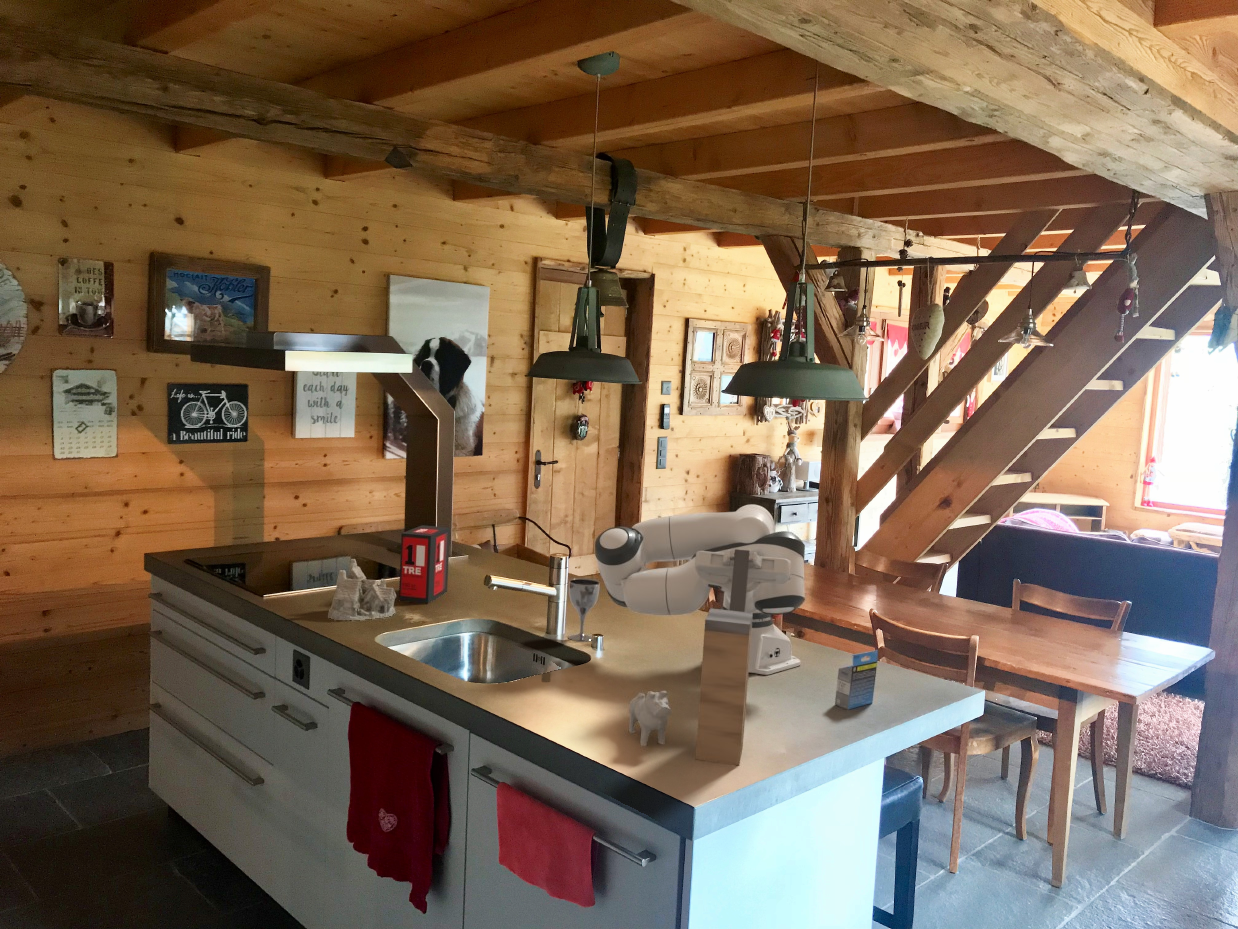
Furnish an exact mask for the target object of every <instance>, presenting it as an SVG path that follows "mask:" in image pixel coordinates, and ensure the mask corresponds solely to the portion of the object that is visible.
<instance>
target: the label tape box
mask: <svg viewBox="0 0 1238 929" xmlns="http://www.w3.org/2000/svg"><path fill="white" fill-rule="evenodd" d="M878 650H879V649H876V650H872V651H867V652H860V653H854V654H852V660H851V661H852V665H849V666H842V667H839V668H838V672H837V681H836V682H837V683H836V688H835V691H836V692H835V699H834V700H835V701H834V705H836V706H837V707H840V708H842V709H845V710H847V711H849V710H852V709H856V708H858V707H862V706H867V705H869V704H870V705H871V704H873V701H874V692H875V685H876V677H877V667H878V654H879V653H878V652H879V651H878ZM864 658H869V659H867V660H862V659H864Z"/></svg>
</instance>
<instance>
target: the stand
mask: <svg viewBox="0 0 1238 929" xmlns="http://www.w3.org/2000/svg"><path fill="white" fill-rule="evenodd" d="M752 618H753V613H749V612H740V611H730V610H721V608H720V609H718V608H712V607H711V608H710V609H709V611H708V612H707V615H706V616H705V619H704V632H703V648H702V660H701V675H700V689H699V690H700V691H699V704H698V715H697V716H698V718H697V728H696V729H697V731H696V732H697V734H696V743H695V744H696V747H695V759H694V760H695V761H696V760H697V761H698V760H699V761H705V762H710V763H711V762H712V763H720V764H727V765H734V766H740V765H741V760H742V753H743V748H744V747H743V746H744V739H745V738H744V737H745V736H744V735H745V725H746V724H745V722H746V711H747V710H746V709H747V696H748V685H749V684H748V683H749V673H750V672H749V658H750V645H751V632H752Z"/></svg>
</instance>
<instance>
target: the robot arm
mask: <svg viewBox="0 0 1238 929" xmlns="http://www.w3.org/2000/svg"><path fill="white" fill-rule="evenodd" d="M735 549H738V550H749V551H750V552H749V570H748V582H747V593H746V604H745V612H749V613H753V618H752V632H751V645H750V658H749V672H748V673H751V674H759V675H765V676H767V675H771V674H775V673H778V672H781V671H786V670H788V669H792V668H795V667H799V666H801V662H802V661H801V659H799V658H797V657H796V656H794V655H792V654H793V652H792V650H793V648H792V642H791V639H790V638H789V637H788V636H787V635H786V634H785V633H784V632H782V630H780V629H779V628H778V627H777V626H776V625H775V624H774V620H773V619H776V620H780V619H781V618H782V615H787V614H791V613H793V612H794V611H796V610H798V608H800V607H801V606H802V605H803V604H804V602H805V601H806V596H805V595H806V592H805V591H806V589H805V588H806V587H805V563H804V562H805V555H806V554H805V553H806V552H805V551H806V550H805V549H806V546H805V543H804V542H803V541H802V540H801V538H799V537H798V536H797V535H796V534H794V532H792V531H789V530H788V531H786V530H785V531H783V530H781V531H775V521H774V517H773V516H772V514H771V513H770V511H768V510H767V509H766V507H763V506H762V505H758V504H746V505H743V506H741V507H739V508H737V510H736V511H726V512H694V513H685V514H678V515H677V514H676V515H668V516H661V517H660V516H659V517H656V518H651V519H648V520H647V519H646V520H644V521H640V522H637V523H636V524H634V525H632V526H631V527H630V526H615V527H610V528H607V529H605V530H604V531H601V533H600V534H598V535H597V537H596V538H595V542H594V555H595V558H596V562H597V568H598V572H599V574H600V577H601V579H602V580H603V583H604V585H605V587H606V592H607V594H608V596H609V597H610V599H611V601H612V602H613V603H614V604H615V605H617V606H620V607H623V608H628V609H629V610H630V611H632V612H633V613H637V614H642V615H643V614H644V615H652V616H684V615H690V614H693V613H695V612H696V611H698V610H699V609H700V608H701V607H702V606H703V605H704V604H705V602H707V600H708V598H709V596H710V593H711V590H712V589H716V590H719V591H722V592H723V604H722V605H721V608H720V609H721V610H730V600H731V589H732V578H733V567H734V557H735ZM683 560H688V561H687V562H685V563H683V564H681V565H678V566H674V567H662V568H661V567H660V568H654V569H653V568H652V569H650V568H647V566H648V565H649V564H651V563H654V562H673V561H675V562H676V561H683Z"/></svg>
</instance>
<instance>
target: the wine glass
mask: <svg viewBox="0 0 1238 929" xmlns="http://www.w3.org/2000/svg"><path fill="white" fill-rule="evenodd" d="M568 582H569V583H568V595H569V600H570V603H571V605H572V606H573V607H574V609H575V610H576V612H577V613H578V615H579V621H580V622H579V625H580V629H579V633H575V634H574V633H573V634H569V635H567V639H568V638H569V639H568V640H570V639H572V640H571V641H573V640H574V642H580V641H581V643H582V642H583V643H584V642H586V641H587V642H592V641H591V639H592V636H593V635H589V634H586V633H585V632H584V625H585V624H584V623H585V619H586V616H587V614H588V613H589V611H591V609H592V608H593V607H595V605H596V604H597V602H598V598H599V595H600V594H599V592H600V588H601V587H600V585H601V583H600V581H599V580H597V579H593V578H584V577H582V578H581V577H580V578H579V577H577V578H571V579H569V581H568Z"/></svg>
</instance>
